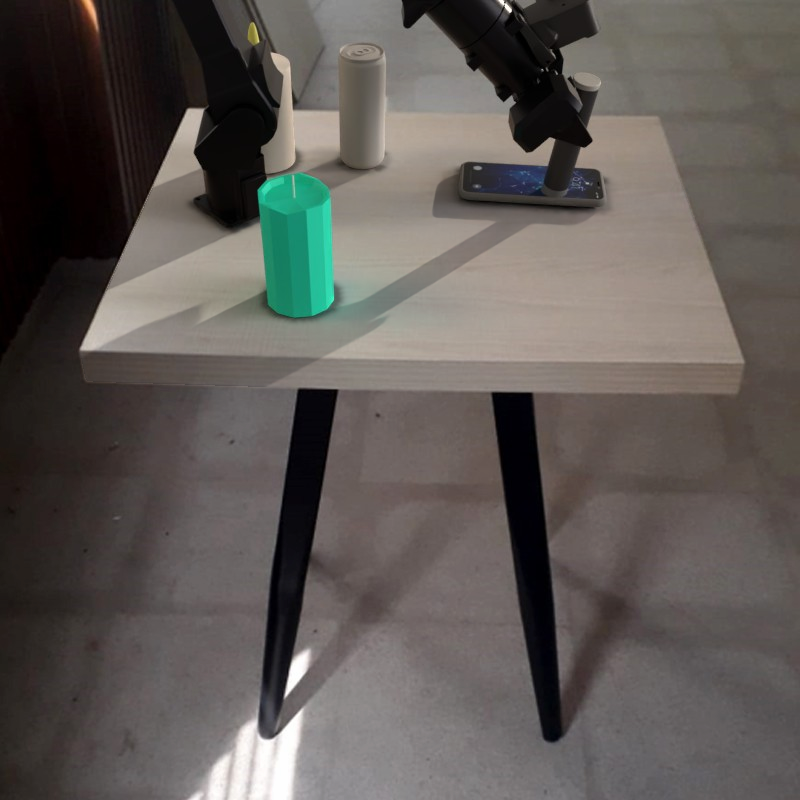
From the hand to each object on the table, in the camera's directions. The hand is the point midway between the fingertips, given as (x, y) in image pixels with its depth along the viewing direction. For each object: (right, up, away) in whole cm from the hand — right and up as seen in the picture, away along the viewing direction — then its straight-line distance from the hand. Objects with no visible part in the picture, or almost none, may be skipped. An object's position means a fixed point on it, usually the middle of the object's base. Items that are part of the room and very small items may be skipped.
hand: (585, 136), depth 92 cm
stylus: (-2, -5, +5) cm, 7 cm away
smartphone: (-4, -4, +7) cm, 9 cm away
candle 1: (-32, 0, +11) cm, 34 cm away
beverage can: (-22, 0, +11) cm, 25 cm away
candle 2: (-27, -16, -8) cm, 32 cm away
